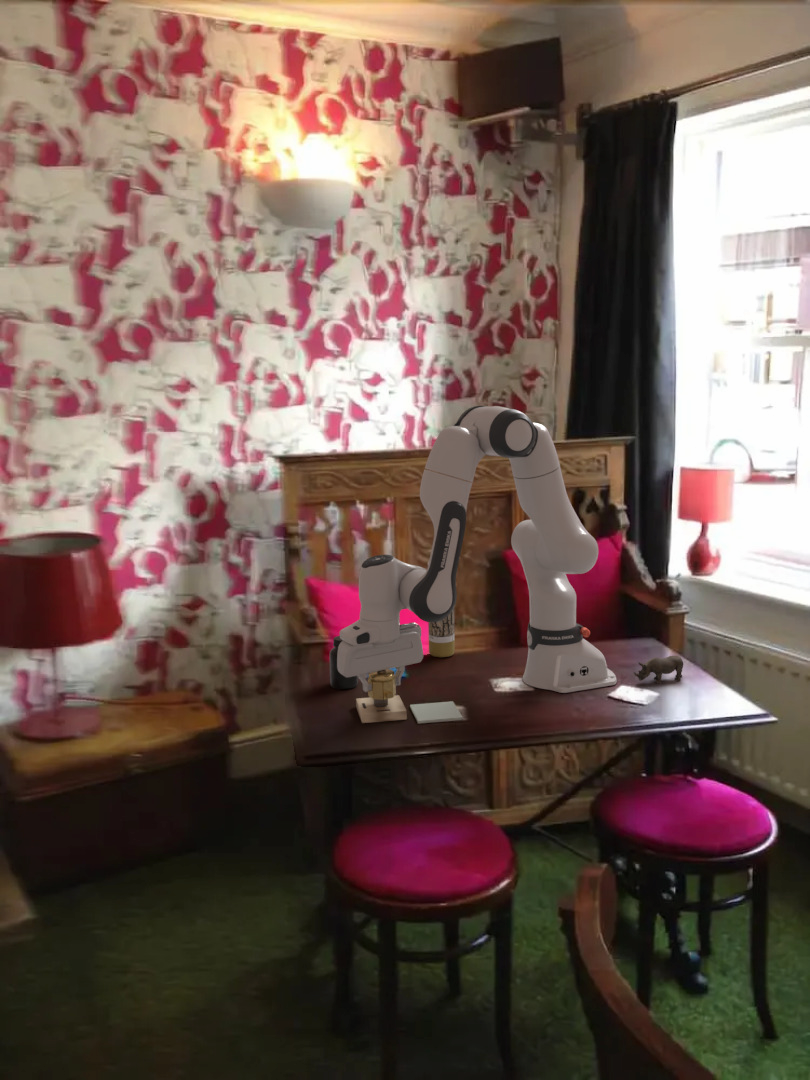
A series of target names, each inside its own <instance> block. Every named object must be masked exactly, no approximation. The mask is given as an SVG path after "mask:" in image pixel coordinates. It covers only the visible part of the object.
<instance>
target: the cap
mask: <svg viewBox="0 0 810 1080" xmlns="http://www.w3.org/2000/svg"><path fill="white" fill-rule="evenodd" d="M367 676H368V677H367V682H370V683H371V684H372V691H369V692H367V694H368V695H367V696H368V698H370V697H371V698H372V699H379V700H385V699H390V698H393V697H394V696H395V695H397V690H396V689H397V688H396V687H397V686H396V680H395V671H394V670H393V669H392V668H391V669H386V670H381V671H376V672H372V673H367Z"/></svg>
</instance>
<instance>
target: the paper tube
mask: <svg viewBox="0 0 810 1080" xmlns="http://www.w3.org/2000/svg"><path fill="white" fill-rule="evenodd" d="M428 564H429V561H427V565H428ZM455 637H456V636H455V607H454V608H453V610H452V612H451V613H450V614H449V615H448V616H447V617H446V618H444V619H443V620H441V621H438V622H428V652H429V653H428V654H429V655H430V656H431V657H435V658H449V657H451V656H453V655H455V654H454V653H455V651H456V650H455Z"/></svg>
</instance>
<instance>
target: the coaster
mask: <svg viewBox="0 0 810 1080" xmlns="http://www.w3.org/2000/svg"><path fill="white" fill-rule="evenodd" d="M409 708H410V710H411V712H412V714H413V716H414V719H415V720H416V722H417V725H418V724H427V723H441V722H452V721H453V722H455V721H463V719H464V718H463V716H462V714H461V712H460V710H459V709H458V708H457V705H456V703H455V702H454V701H453V700H452V701H451V700H450V701H441V702H429V703H416V704H415V703H413V704H410V705H409Z"/></svg>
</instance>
